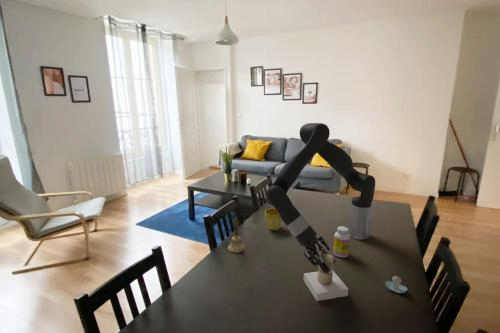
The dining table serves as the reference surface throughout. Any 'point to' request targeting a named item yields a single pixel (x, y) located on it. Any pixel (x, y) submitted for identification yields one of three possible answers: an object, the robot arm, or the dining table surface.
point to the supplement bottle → (341, 242)
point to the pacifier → (396, 285)
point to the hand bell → (236, 239)
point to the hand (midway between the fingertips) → (330, 267)
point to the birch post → (327, 277)
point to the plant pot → (273, 219)
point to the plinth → (325, 287)
